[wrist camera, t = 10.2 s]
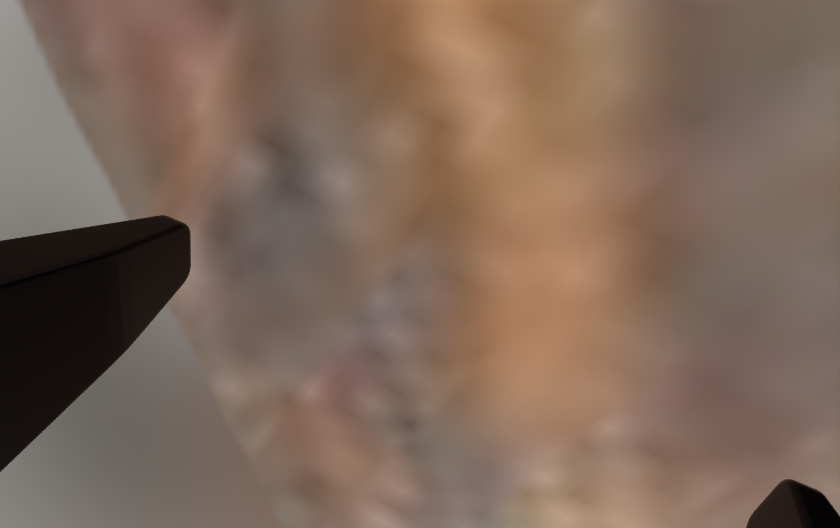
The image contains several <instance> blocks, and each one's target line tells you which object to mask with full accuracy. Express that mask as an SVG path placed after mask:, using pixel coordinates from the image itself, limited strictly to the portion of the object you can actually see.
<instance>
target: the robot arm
mask: <svg viewBox="0 0 840 528" xmlns="http://www.w3.org/2000/svg"><path fill="white" fill-rule="evenodd" d="M190 267H191V243H190V230H189V227H188V226H187V225H186V224H185V223H183V222H180V221H178V220H176V219H173V218H171V217H168V216H163V215H161V216H154V217H148V218H142V219H135V220H129V221H123V222H117V223H111V224H104V225H98V226H91V227H85V228H79V229H72V230H66V231H60V232H54V233H47V234H41V235H35V236H28V237H22V238H15V239H9V240H3V241H0V472H1V471H2V470H3V469H4V468H5V467H6V466H7V465H8V464H9V463H10V462H11V461H12V460H13V459H14V458H15V457H16V456H17V455H19V454H20V453H21V452H22V451H23V450H24V449H25V448H26V447H27V446H28V445H29V444H30V443H31V442H32V441H33V440H34V439H35V438H36V437H37V436H38V435H39V434H40V433H41V432H42V431H43V430H45V429H46V428H47V427H48V426H49V425H50V424H51V423H52V422H53V421H54V420H55V419H56V418H57V417H58V416H59V415H60V414H61V413H62V412H63V411H64V410H65V409H66V408H68V406H70V404H72V403H73V402H74V401H75V400H76V399H77V398H78V397H79V396H80V395H81V394H82V393H83V392H84V391H85V390H86V389H87V388H88V387H89V386H90V385H92V384H93V383H94V382H95V381H96V380H97V379H98V378H99V377H100V376H101V375H102V374H103V373H104V372H105V371H106V370H107V369H108V368H109V367H110V366H111V365H112V364H113V363H114V362H115V361H116V360H117V359H118V358H119V357H120V356H121V355H122V354H123V353H124V352H125V351H126V350H127V349H128V348H129V347H130V346H131V345H132V344H133V342H134V341H135V340H136V339H137V338H138V337H139V336H140V334H141V333H142V332H143V331H144V330H145V328H146V327H147V326H148V325H149V324H150V322H151V321H152V320H153V319H154V318H155V317H156V315H157V314H158V313H159V312H160V311H161V309H162V308H163V307H164V306H165V305H166V304H167V302H168V301H169V300H170V299H171V298H172V296H173V295H174V294H175V293H176V292H177V291H178V289H179V288H180V287H181V286H182V285H183V283H184V282H185V281H186V279H187V277H188V275H189V272H190ZM746 528H840V516H839V515H838V513H837V512H836V510H835V509H834V508H833V506H832V505H831V504H830V502H829V501H828V500H827V498H826V497H825V496H824V495H823V494H822V493H821V492H820V491H818V490H816V489H814V488H811V487H809V486H807V485H804V484H802V483H799V482H797V481H795V480H791V479H786V480H784V481H782V482H780V483H779V484H778V485H777V486H776V487H775V488H774V490H773V491H772V492H771V493H770V494H769V495H768V496H767V498H766V499H765V500H764V501H763V502H762V503H761V504H760V505H759V507H758V508H757V509H756V510H755V511H754V512H753V514H752V515H751V517H750V519H749V521H748V524H747V527H746Z"/></svg>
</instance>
